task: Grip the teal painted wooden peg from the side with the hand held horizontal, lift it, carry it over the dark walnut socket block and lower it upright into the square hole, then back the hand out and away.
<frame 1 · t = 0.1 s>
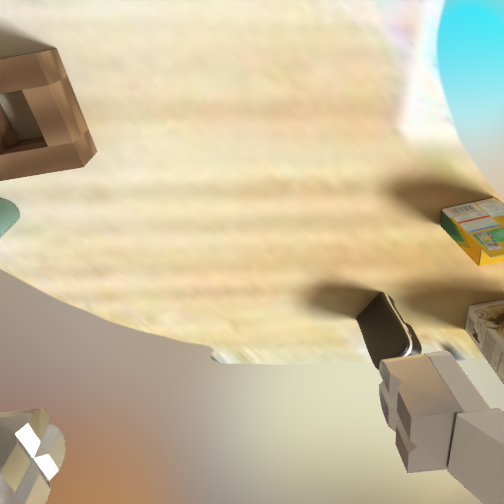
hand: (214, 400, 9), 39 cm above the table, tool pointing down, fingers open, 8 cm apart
peg: (4, 211, 48), on the table
socket block: (30, 112, 42), on the table
coffee box: (492, 312, 63), on the table
crayon box: (466, 211, 52), on the table
battery charger: (375, 307, 61), on the table
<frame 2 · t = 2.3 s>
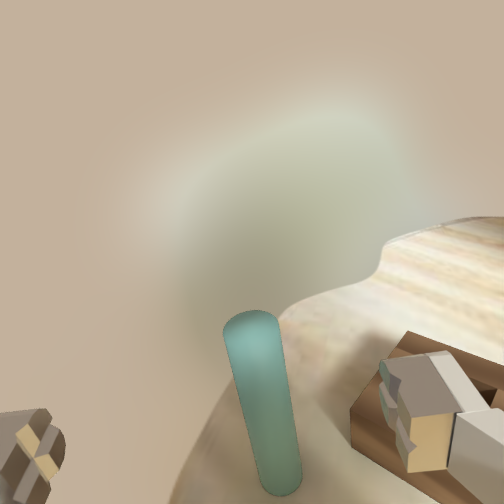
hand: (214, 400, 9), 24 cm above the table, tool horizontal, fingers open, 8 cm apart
peg: (280, 473, 31), on the table
socket block: (441, 435, 32), on the table
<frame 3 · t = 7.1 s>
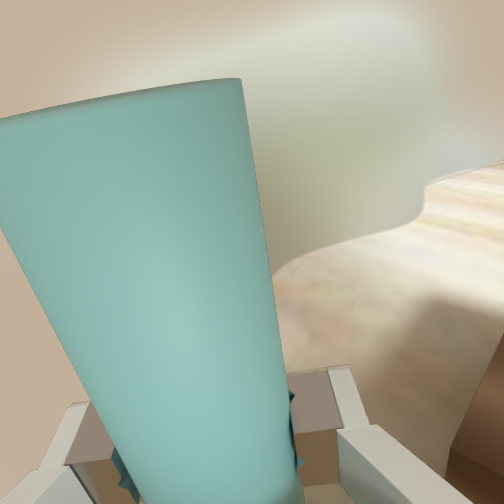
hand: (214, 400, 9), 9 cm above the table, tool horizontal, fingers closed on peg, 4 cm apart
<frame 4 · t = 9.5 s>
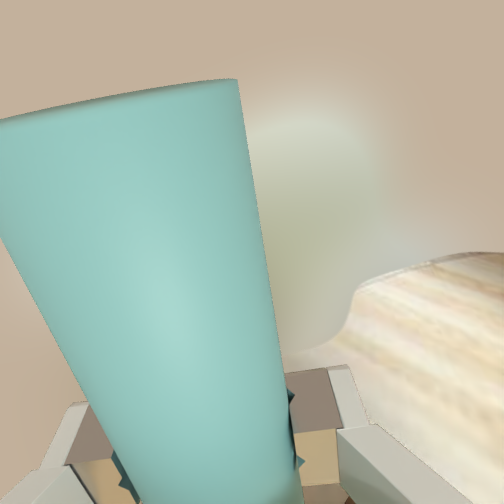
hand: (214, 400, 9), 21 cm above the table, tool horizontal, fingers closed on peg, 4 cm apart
when the fingers open (11 cm above the table, at t = 12.0 s): peg drops 2 cm, resting in socket block.
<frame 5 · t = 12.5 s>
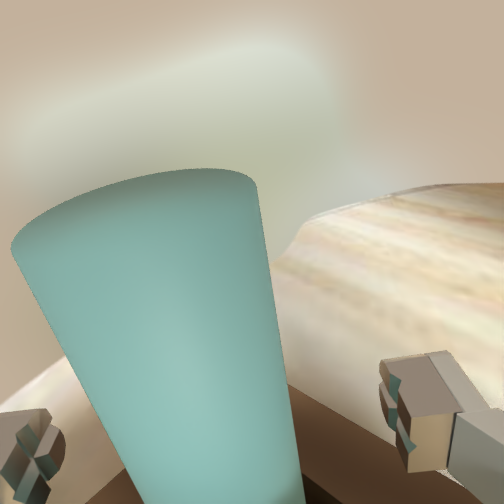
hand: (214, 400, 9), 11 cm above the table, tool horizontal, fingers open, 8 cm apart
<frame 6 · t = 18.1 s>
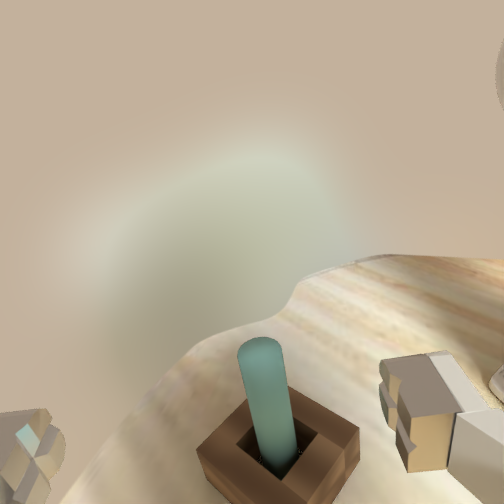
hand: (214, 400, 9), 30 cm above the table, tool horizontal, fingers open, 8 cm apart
peg: (282, 470, 37), resting in socket block
socket block: (282, 469, 37), on the table
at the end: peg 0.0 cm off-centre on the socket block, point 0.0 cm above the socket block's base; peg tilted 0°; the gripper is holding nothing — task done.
